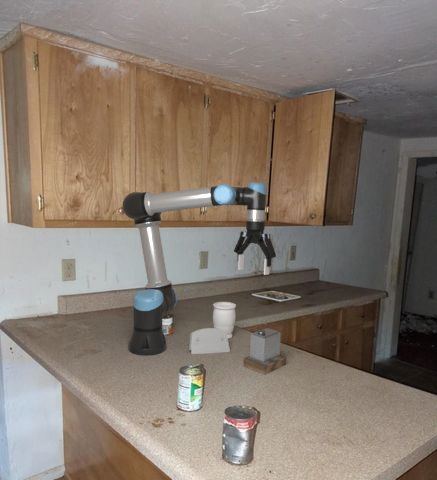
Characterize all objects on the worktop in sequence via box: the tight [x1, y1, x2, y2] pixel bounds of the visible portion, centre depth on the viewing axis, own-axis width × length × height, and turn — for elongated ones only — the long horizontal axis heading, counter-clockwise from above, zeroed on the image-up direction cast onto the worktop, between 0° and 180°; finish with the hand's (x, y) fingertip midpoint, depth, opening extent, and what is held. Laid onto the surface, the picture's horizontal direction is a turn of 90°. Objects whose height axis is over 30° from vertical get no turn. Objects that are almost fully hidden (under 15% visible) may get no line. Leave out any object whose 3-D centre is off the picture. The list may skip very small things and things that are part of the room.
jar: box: [212, 301, 237, 340], centre depth 175 cm, size 11×10×15 cm
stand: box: [242, 355, 287, 376], centre depth 144 cm, size 13×10×3 cm
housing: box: [249, 327, 282, 363], centre depth 144 cm, size 6×10×11 cm, turn 136°
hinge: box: [188, 327, 231, 355], centre depth 158 cm, size 17×5×10 cm, turn 105°
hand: (253, 272), depth 158 cm, fingers open, 13 cm apart
